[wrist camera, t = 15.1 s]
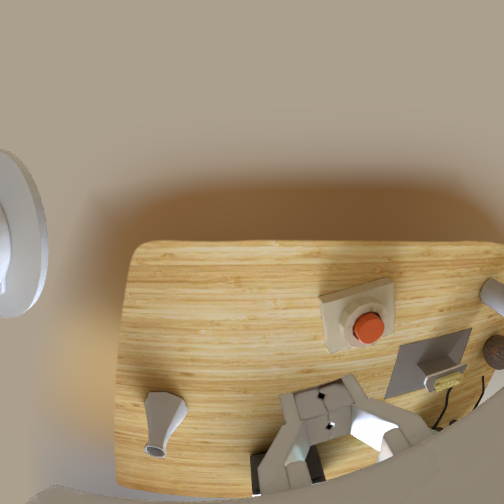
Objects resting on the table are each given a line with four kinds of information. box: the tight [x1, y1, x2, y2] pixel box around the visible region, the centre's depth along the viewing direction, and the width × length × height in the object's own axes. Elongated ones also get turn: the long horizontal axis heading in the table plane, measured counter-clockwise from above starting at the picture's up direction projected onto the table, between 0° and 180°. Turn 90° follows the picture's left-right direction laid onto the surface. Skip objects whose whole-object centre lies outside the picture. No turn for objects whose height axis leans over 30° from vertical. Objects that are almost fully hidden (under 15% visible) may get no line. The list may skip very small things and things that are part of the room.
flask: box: [144, 392, 188, 458], centre depth 34 cm, size 7×7×10 cm
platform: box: [384, 328, 472, 399], centre depth 37 cm, size 12×18×7 cm, turn 91°
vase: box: [484, 335, 504, 370], centre depth 37 cm, size 7×7×9 cm
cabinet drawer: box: [252, 445, 321, 491], centre depth 40 cm, size 18×11×8 cm, turn 13°
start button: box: [354, 313, 384, 344], centre depth 32 cm, size 4×4×2 cm
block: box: [318, 277, 394, 354], centre depth 34 cm, size 10×8×4 cm
